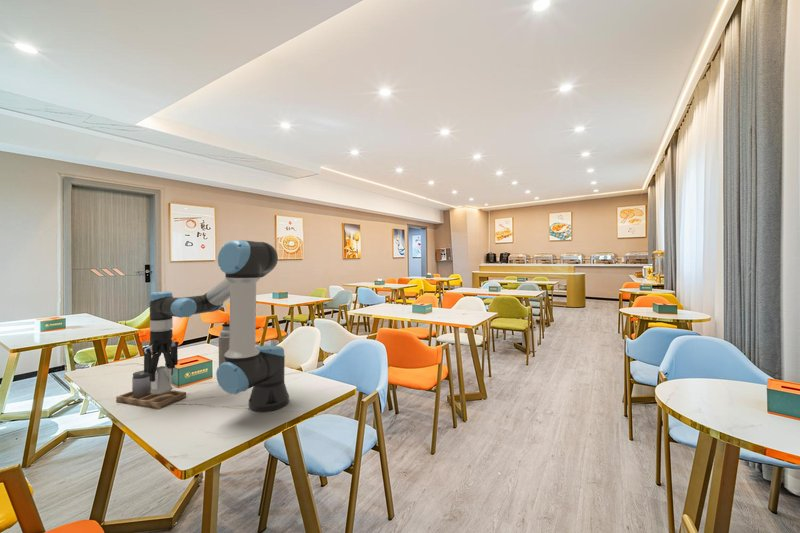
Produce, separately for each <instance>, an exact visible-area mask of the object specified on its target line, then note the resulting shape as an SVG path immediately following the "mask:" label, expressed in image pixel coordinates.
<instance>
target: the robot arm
mask: <svg viewBox="0 0 800 533" xmlns="http://www.w3.org/2000/svg"><path fill="white" fill-rule="evenodd" d="M278 260H279V257H278V252H277V250H276V249H275V247H274V246H273V245H271V243H268V242H264V241H251V240H243V239H238V240H237V239H236V240H229V241H227V242H226V243H224V245H223V246H222V247H220V250H219V252H218V255H217V264H218V267H219V268H220V270H221V272H223V273H224V274H225V278H224V279H223V280H221V281H220V282H219V283H217V284H216V285H215V286H213V287H212V288H211V289H210V290H208V291H207V292H206V293H204V294H202V295H194V296H193V295H192V296H183V297H174V295H173V292H171V291H154V292H151V293H150V296H149V302H148V304H149V330H150V331H149V341H150V343H149V346H148V347H146V348H145V347H143V349H142V352H143V370H144V373H149V380H150V382H151V389H155V390H157V389H158V373H156V370H157V367H158V365H159V361H160V357H161V355H163V358H164V361H165V367H166V368H165V374H166V377H167V379H168V381H169V383H170V385H172V382H173V381H172V380H173V379H172V376H173V373H174V368H175V367H176V366H177V365H178V363H179V361H178V360H179V359H178V346H179V343H180V342H179V341H175V340H174V341H173V337H174V336H173V329H172V328H173V325H174V324H173V321H174V320H173V317H176V318H181V319H182V318H189V317H192V316H193V315H198V314H206V313H213V312H217V311H219V310H221V309H223V306H224V303H225V302H227V301H228V300H229V323H230V336H229V350H228V351H227V352H226V353H225V355H224V363H222V364H221V365H220V366H219V365H218V367H217V369H216V380H217V384H218V385H219V386H220V387H221V389H222V390H223V391H224V392H226V393H228V394H231V395H235V394H236V395H237V394H239V393H242V392H245V391H247V390H248V389H252V390H251V393H250V395H249V396H250V397H249V399H248V408H249V409H250V410H251V411H254V412H260V413H261V412H263V413H264V412H271V411H275V410H279V409H281V408H284V407H285V406H287V405H288V404H289V402H290V395H289V393H288V390H287V386H286V384H285V362H286V360H285V358H286V355H285V350H284V348H283V347H282V346H279V345H258V346H257V345H256V333H257V332H256V330H257V328H256V327H257V325H256V324H257V317H256V316H257V314H256V313H257V283H258V281H260V279H262V278H263V277H265V276H267V275H268V274H269V273H271V272H272V271H273V270H274V269H275V268H276V266H277V264H278Z"/></svg>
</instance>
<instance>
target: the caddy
mask: <svg viewBox="0 0 800 533" xmlns="http://www.w3.org/2000/svg"><path fill="white" fill-rule="evenodd" d="M186 398H187V391H181V390H174V389H172V390H170V391H169V392H166V393H163V394H151V395H148V396H145V397H143V398H140V399H135V398H132V390H131V391H129V392H126V393H124V394H120V395H117V396H116V397H115V402H116V403H120V404H125V405H131V406H137V407H141V408H143V407H144V408H148V409H154V410H160V409H163V408H165V407H167V406H169V405H172V404H175V403H177V402H179V401H182V400H184V399H186Z"/></svg>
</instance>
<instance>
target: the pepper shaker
mask: <svg viewBox="0 0 800 533" xmlns="http://www.w3.org/2000/svg"><path fill="white" fill-rule="evenodd" d="M131 381H132V383H131V384H132V385H131V386H132V390H131V391H132V398H135V399H140V398H143V397H145V396H148V395H151V393H150V391H151V382H150V380H149V373H144V369H143V370H139V371H136V372H133V373H132V380H131Z"/></svg>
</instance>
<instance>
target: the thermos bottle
mask: <svg viewBox="0 0 800 533" xmlns="http://www.w3.org/2000/svg"><path fill="white" fill-rule="evenodd" d="M221 326H222V330H221V331H219V335H218V367H219V366H220V365H221V364H222V363H224V355H225V353H226V352H227V351H228V350H229V336H230V322H229V323H223V324H221Z"/></svg>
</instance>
